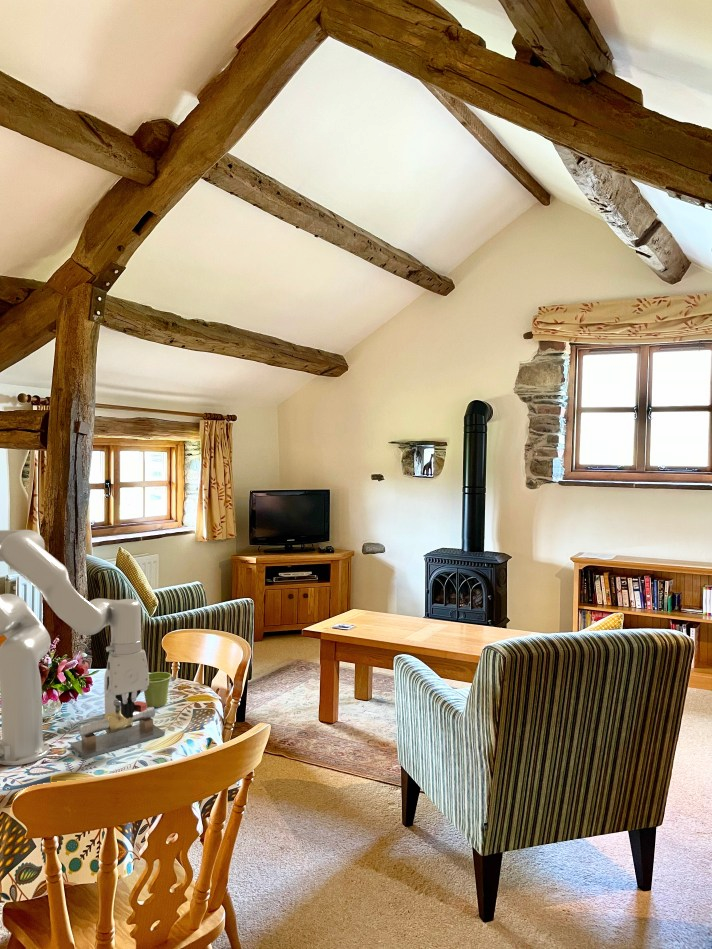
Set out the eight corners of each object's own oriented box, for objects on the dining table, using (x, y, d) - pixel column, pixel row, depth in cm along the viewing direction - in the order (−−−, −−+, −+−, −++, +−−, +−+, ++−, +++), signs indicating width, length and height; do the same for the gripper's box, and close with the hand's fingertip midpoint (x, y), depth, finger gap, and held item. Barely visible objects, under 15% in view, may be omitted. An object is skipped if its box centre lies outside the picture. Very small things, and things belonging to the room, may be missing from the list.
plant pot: (155, 712, 211) (154, 683, 211) (134, 706, 216) (133, 678, 216) (178, 702, 219) (177, 674, 219) (157, 697, 224) (156, 670, 224)
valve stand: (84, 759, 179) (83, 721, 179) (70, 746, 187) (69, 710, 187) (164, 735, 194) (163, 700, 194) (148, 724, 201) (148, 691, 201)
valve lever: (111, 706, 190) (111, 700, 190) (117, 704, 192) (117, 697, 192) (141, 712, 185) (140, 705, 185) (146, 709, 187) (146, 702, 187)
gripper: (103, 656, 176) (105, 728, 177) (159, 644, 186) (160, 713, 187) (92, 649, 182) (94, 719, 183) (147, 639, 192) (148, 705, 192)
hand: (127, 716), depth 185 cm, fingers closed
